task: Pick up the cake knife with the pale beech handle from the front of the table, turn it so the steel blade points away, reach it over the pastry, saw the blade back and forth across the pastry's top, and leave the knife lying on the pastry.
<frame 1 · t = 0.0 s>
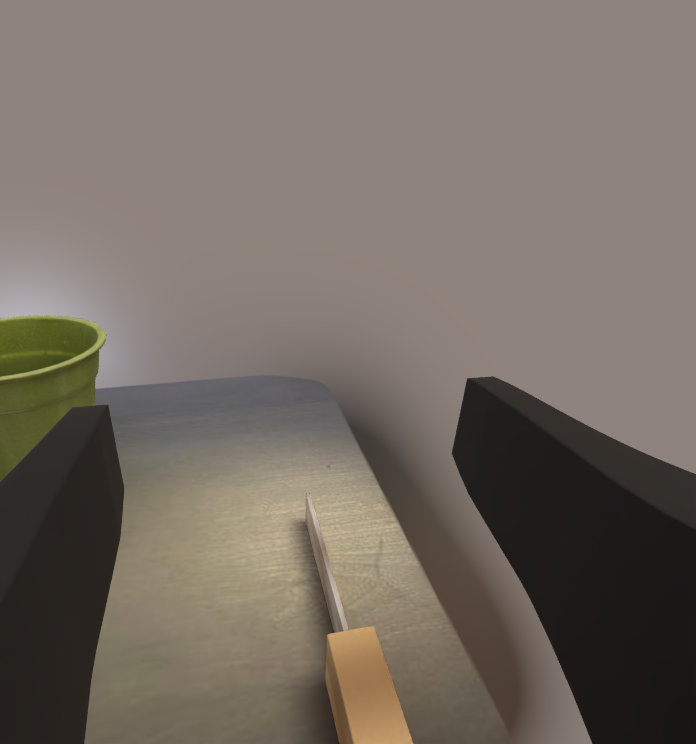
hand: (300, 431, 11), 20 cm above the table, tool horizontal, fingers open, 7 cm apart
plant pot: (43, 480, 42), on the table
cake knife: (336, 633, 30), on the table
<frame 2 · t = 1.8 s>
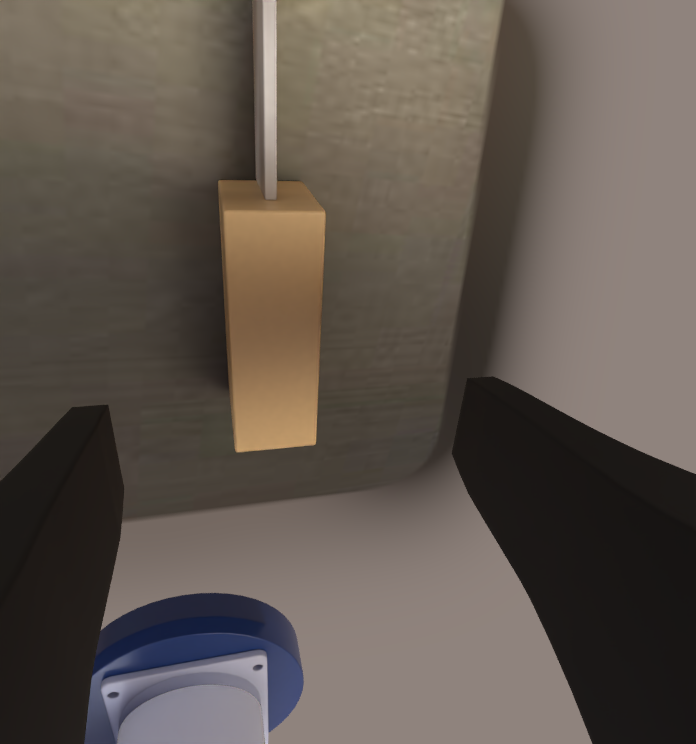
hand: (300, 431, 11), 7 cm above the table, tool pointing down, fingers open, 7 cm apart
cake knife: (259, 80, 14), on the table
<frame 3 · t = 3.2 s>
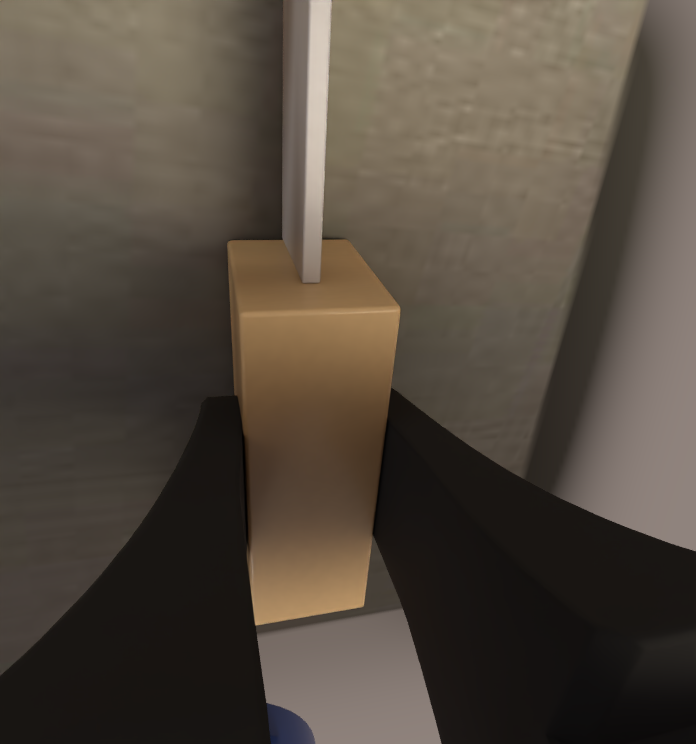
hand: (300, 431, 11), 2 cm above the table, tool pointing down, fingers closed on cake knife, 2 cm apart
cake knife: (291, 95, 9), on the table, touching gripper
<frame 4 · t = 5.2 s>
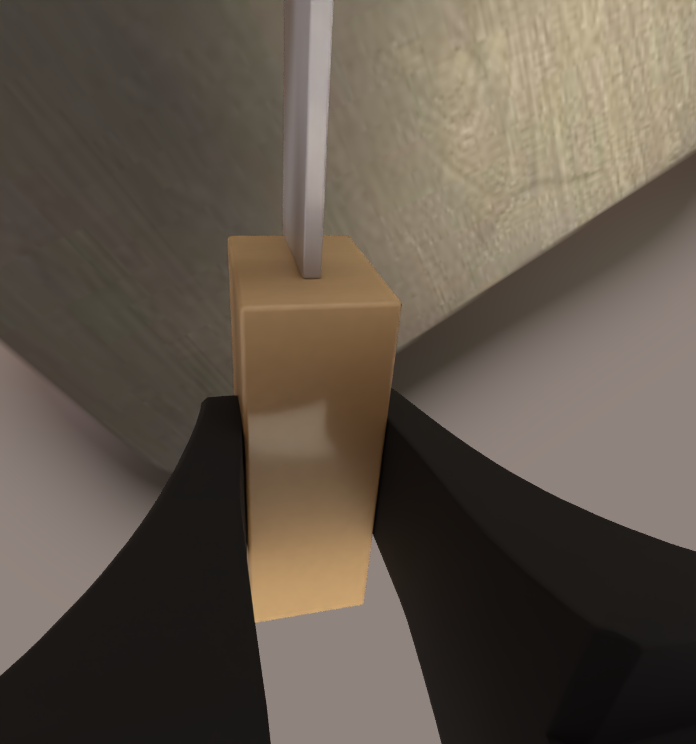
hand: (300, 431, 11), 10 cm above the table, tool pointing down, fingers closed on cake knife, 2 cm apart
cake knife: (292, 90, 9), point 9 cm above the table, touching gripper
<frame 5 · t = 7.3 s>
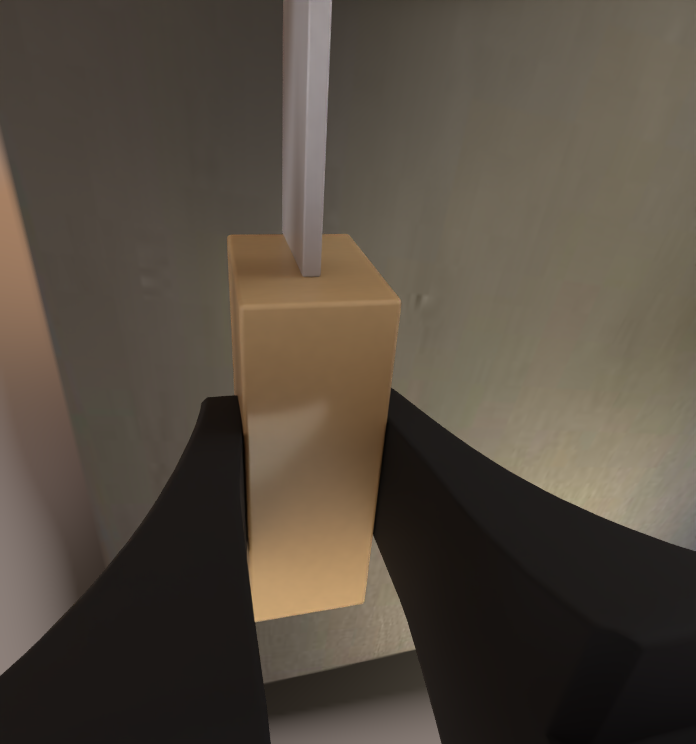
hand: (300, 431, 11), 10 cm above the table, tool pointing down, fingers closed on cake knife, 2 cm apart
cake knife: (291, 88, 9), point 9 cm above the table, touching gripper
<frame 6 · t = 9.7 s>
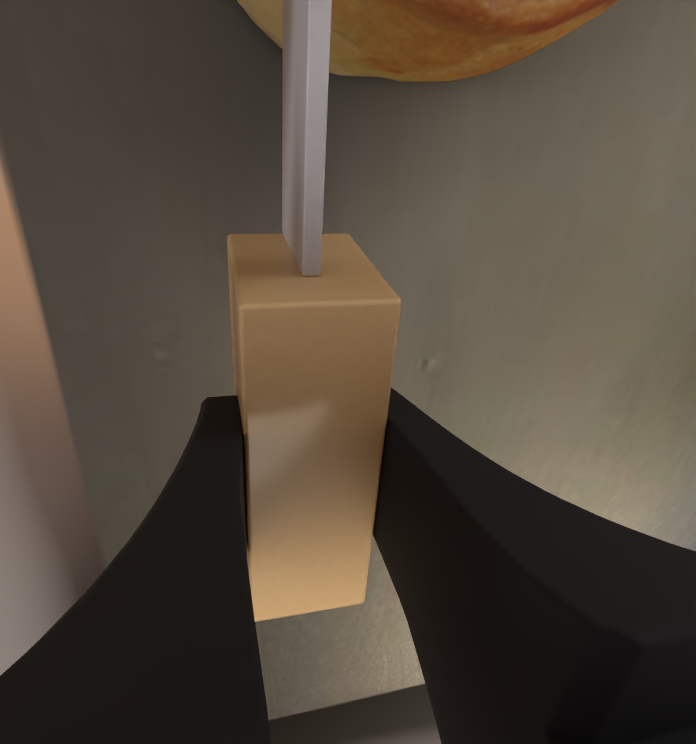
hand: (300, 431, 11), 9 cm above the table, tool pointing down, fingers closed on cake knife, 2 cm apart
cake knife: (291, 87, 9), point 8 cm above the table, touching gripper
when the fingers open (6 cm above the table, at t = 11.4 s): cake knife drops 2 cm, resting on pastry.
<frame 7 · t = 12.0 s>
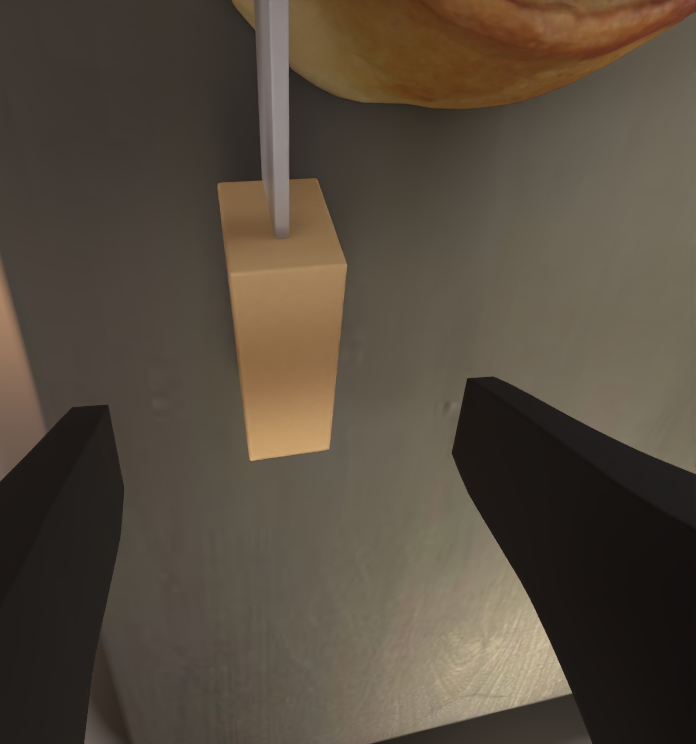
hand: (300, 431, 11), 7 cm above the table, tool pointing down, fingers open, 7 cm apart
cake knife: (264, 65, 11), point 3 cm above the table, tilted 18°, touching pastry
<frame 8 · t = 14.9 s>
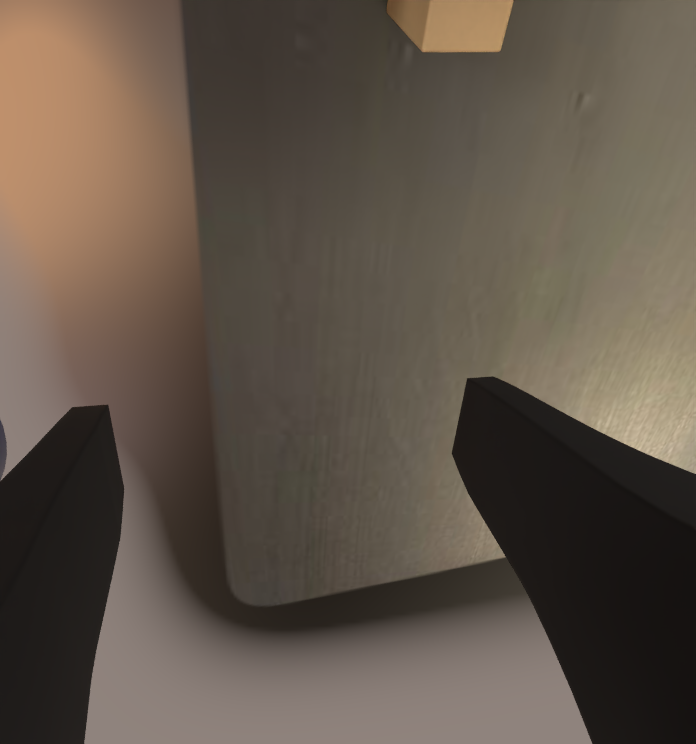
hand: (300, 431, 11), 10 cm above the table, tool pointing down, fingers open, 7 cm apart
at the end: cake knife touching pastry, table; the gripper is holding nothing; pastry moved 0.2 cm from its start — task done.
